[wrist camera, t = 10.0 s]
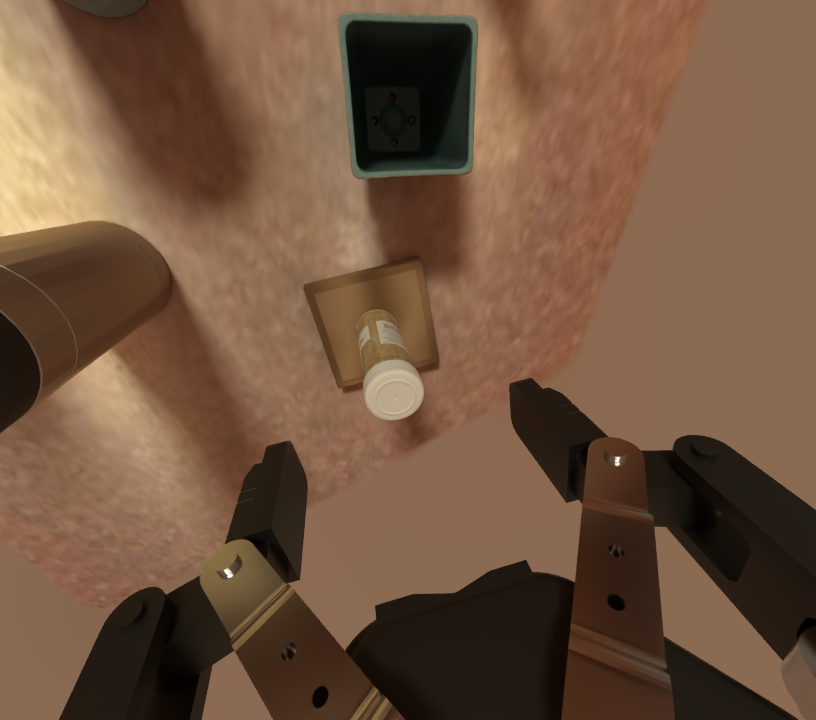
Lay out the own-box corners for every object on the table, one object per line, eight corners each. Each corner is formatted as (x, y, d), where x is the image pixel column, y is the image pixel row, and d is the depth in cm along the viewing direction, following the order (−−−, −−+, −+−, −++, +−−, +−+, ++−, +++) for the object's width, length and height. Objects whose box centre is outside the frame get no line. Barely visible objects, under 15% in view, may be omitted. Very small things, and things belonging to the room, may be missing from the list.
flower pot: (442, 56, 30) (480, 13, 22) (442, 174, 34) (473, 174, 26) (336, 55, 29) (336, 10, 21) (348, 178, 33) (352, 179, 25)
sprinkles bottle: (346, 324, 37) (351, 394, 26) (382, 299, 37) (404, 359, 25) (372, 355, 39) (387, 432, 28) (406, 332, 39) (436, 401, 27)
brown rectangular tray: (338, 381, 42) (338, 389, 41) (304, 284, 36) (303, 288, 35) (436, 356, 43) (439, 362, 41) (418, 256, 37) (421, 259, 36)
